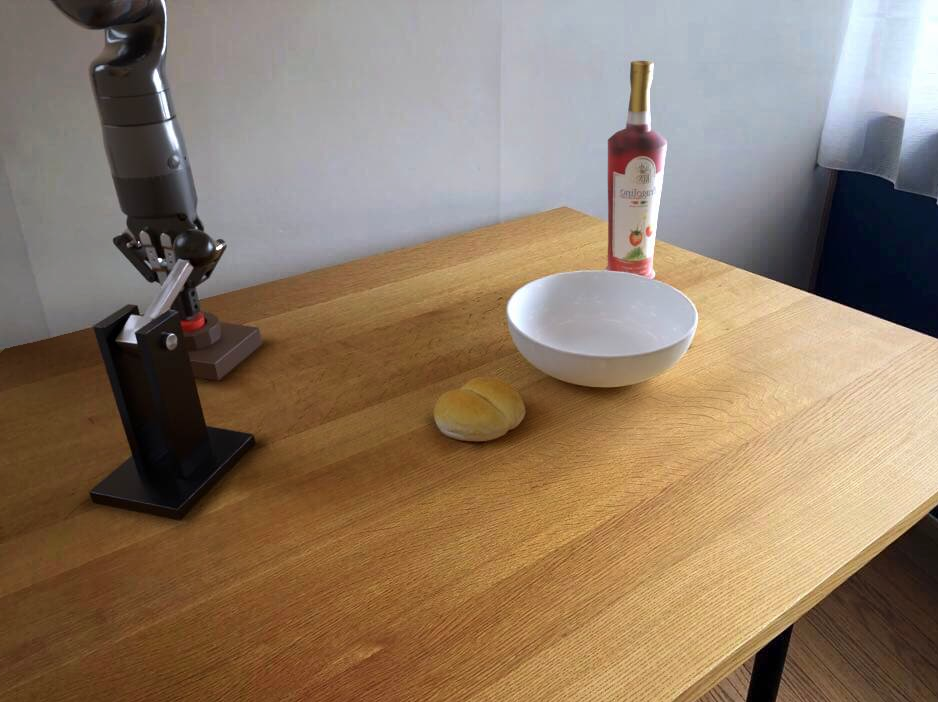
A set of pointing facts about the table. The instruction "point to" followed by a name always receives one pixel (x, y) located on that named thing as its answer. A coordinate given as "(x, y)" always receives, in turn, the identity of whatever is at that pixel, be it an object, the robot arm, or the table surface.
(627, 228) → the liquor
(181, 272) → the lever
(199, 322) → the stop button
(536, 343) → the serving bowl
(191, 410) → the bracket
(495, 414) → the bread roll
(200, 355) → the control block
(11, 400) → the table surface
